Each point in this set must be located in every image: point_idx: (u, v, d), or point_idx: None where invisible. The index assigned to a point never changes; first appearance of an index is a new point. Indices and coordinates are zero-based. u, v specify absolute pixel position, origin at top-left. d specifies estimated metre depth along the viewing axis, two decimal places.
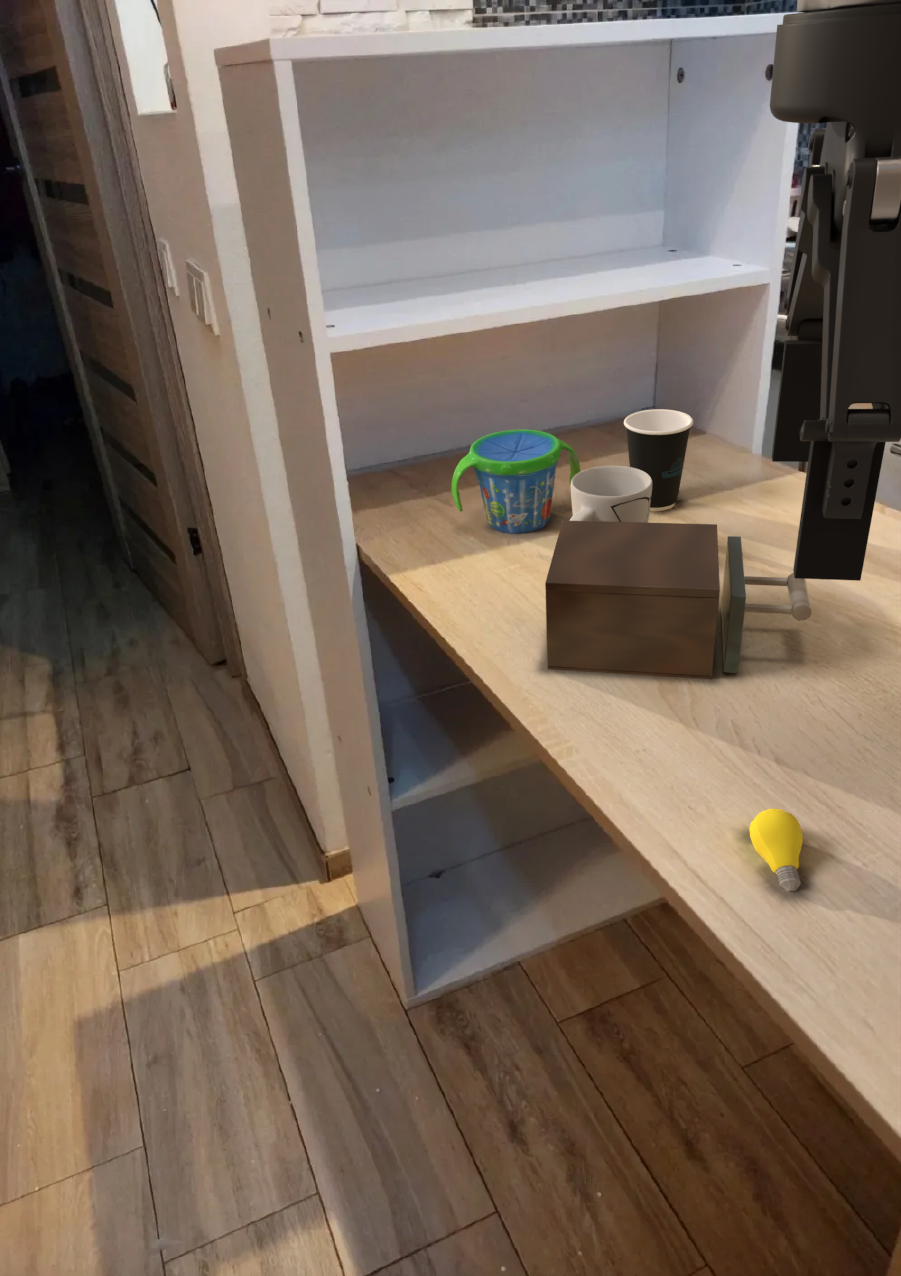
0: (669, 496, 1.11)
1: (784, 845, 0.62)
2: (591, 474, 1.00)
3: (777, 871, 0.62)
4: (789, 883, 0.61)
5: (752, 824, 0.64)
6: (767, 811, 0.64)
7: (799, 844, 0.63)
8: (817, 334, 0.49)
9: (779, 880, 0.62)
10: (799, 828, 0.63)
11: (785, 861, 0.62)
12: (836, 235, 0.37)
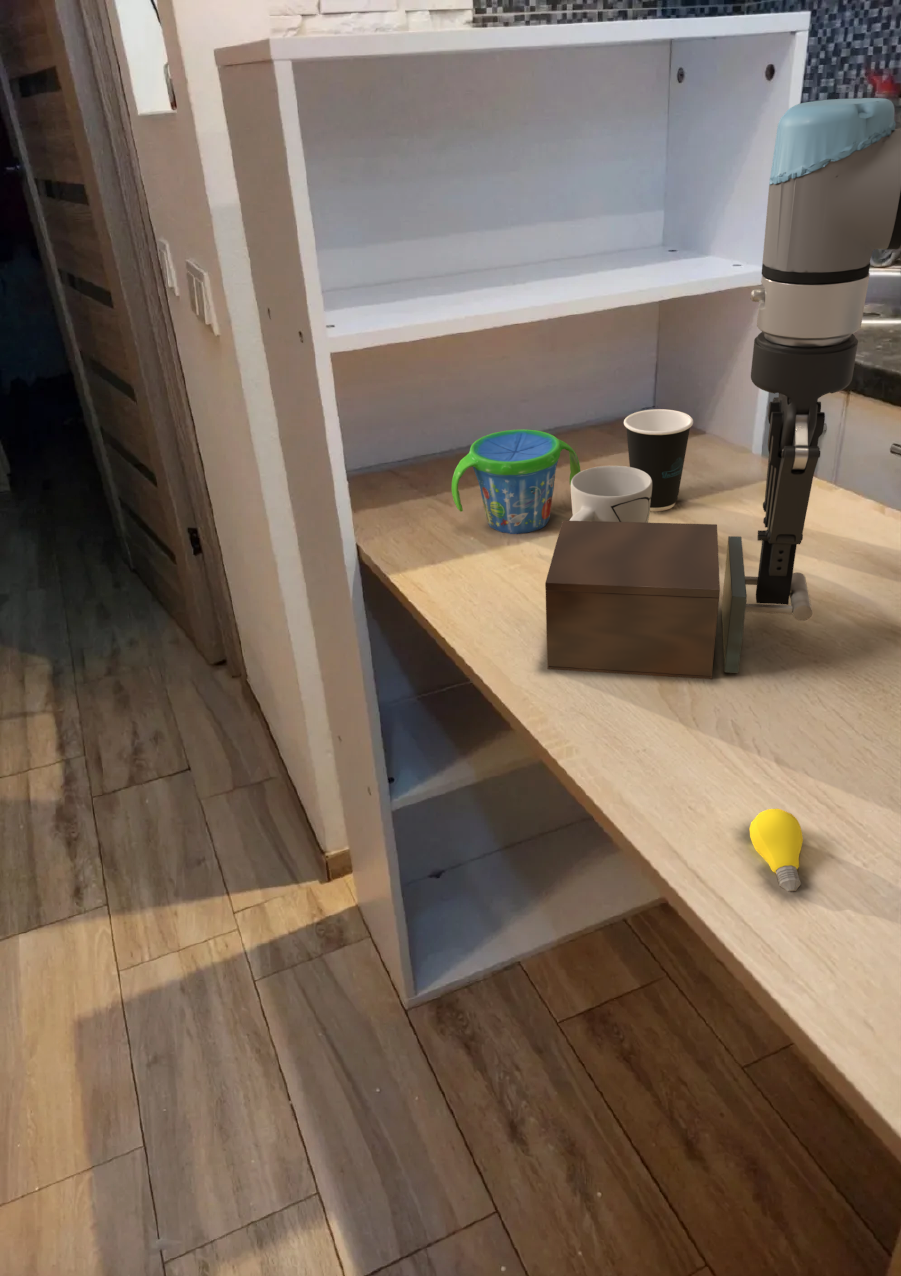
0: (669, 496, 1.11)
1: (784, 845, 0.62)
2: (591, 474, 1.00)
3: (777, 871, 0.62)
4: (789, 883, 0.61)
5: (752, 824, 0.64)
6: (767, 811, 0.64)
7: (799, 844, 0.63)
8: None
9: (779, 881, 0.62)
10: (799, 828, 0.63)
11: (785, 861, 0.62)
12: (784, 444, 0.73)
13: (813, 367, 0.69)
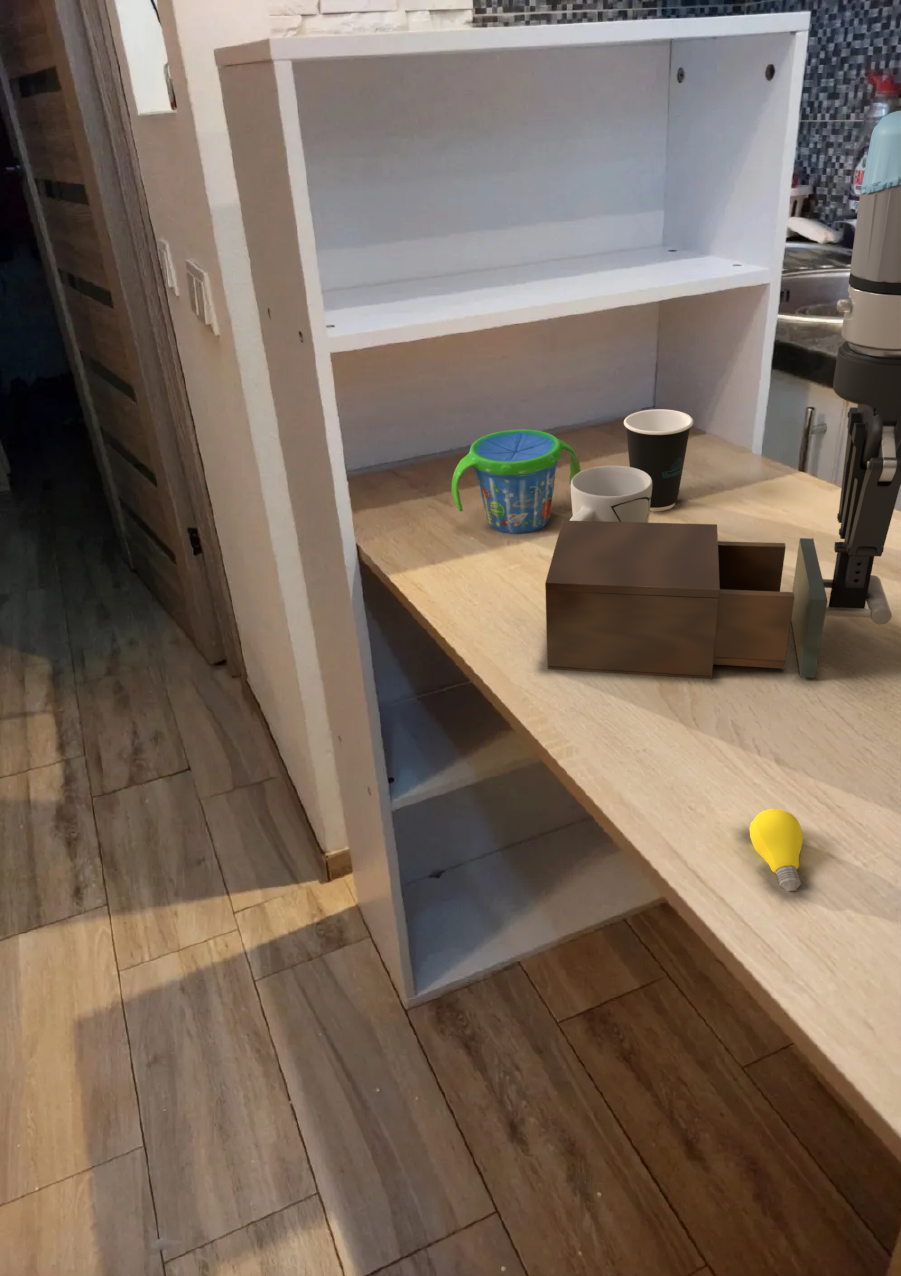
0: (669, 496, 1.11)
1: (784, 845, 0.62)
2: (591, 474, 1.00)
3: (777, 871, 0.62)
4: (789, 883, 0.61)
5: (752, 824, 0.64)
6: (767, 811, 0.64)
7: (799, 844, 0.63)
8: None
9: (779, 880, 0.62)
10: (799, 828, 0.63)
11: (785, 861, 0.62)
12: (868, 456, 0.72)
13: None
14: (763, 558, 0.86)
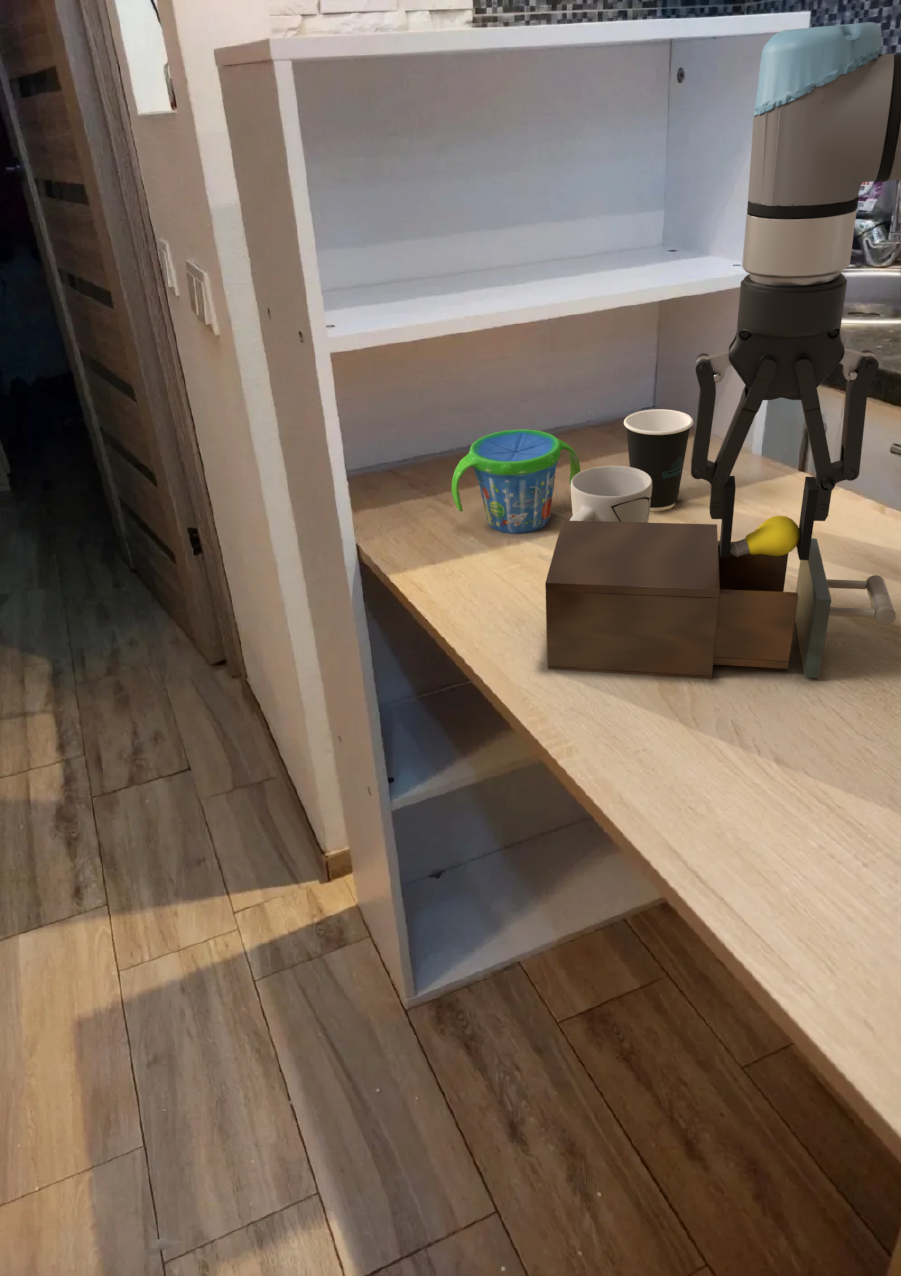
0: (669, 496, 1.11)
1: (758, 530, 0.80)
2: (591, 474, 1.00)
3: None
4: None
5: None
6: (787, 517, 0.80)
7: (766, 539, 0.79)
8: (815, 477, 0.76)
9: None
10: (777, 532, 0.79)
11: (747, 536, 0.80)
12: None
13: (739, 298, 0.70)
14: (767, 558, 0.86)
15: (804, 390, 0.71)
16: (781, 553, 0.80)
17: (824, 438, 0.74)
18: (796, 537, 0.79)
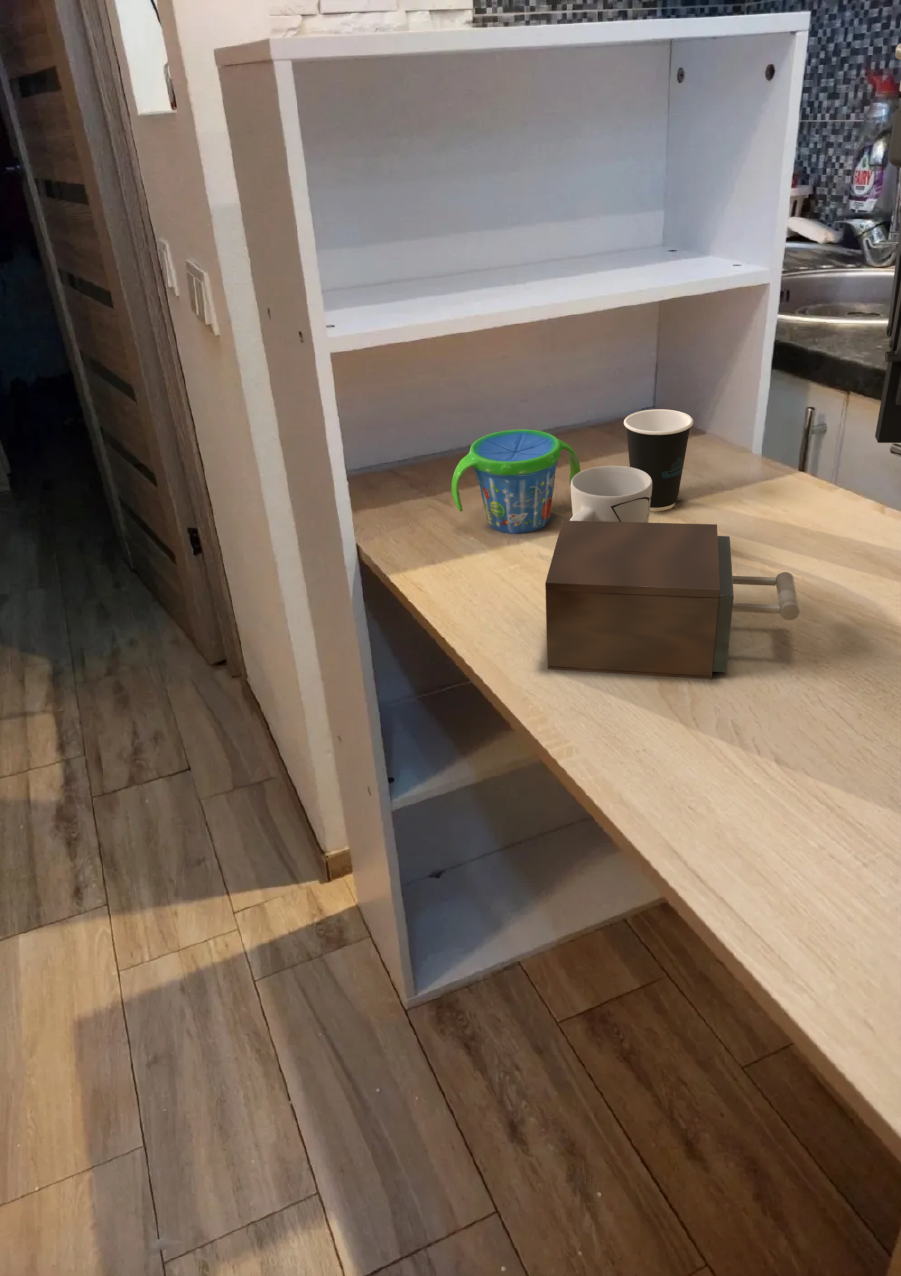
0: (669, 496, 1.11)
1: None
2: (591, 474, 1.00)
3: None
4: None
5: None
6: None
7: None
8: None
9: None
10: None
11: None
12: None
13: None
14: None
15: None
16: None
17: None
18: None
